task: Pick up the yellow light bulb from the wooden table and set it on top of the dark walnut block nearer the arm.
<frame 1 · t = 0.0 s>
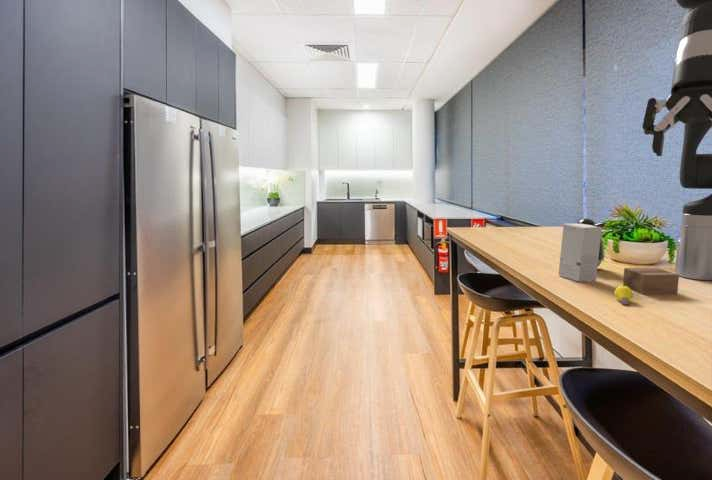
hand: (689, 153, 74), 31 cm above the table, tool tilted 20°, fingers open, 8 cm apart
walnut block: (649, 291, 107), on the table
skincare box: (577, 279, 120), on the table
light bulb: (623, 303, 97), on the table
pump dispenser: (583, 269, 133), on the table
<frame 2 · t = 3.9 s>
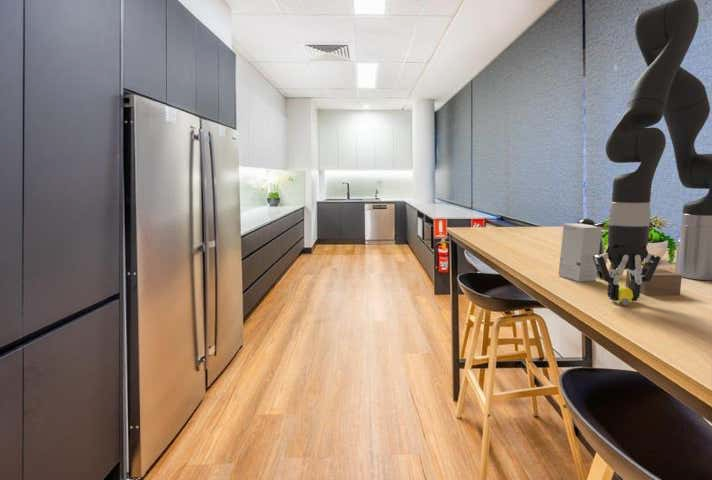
hand: (622, 299, 97), 0 cm above the table, tool pointing down, fingers closed on light bulb, 3 cm apart
light bulb: (624, 304, 96), on the table, touching gripper
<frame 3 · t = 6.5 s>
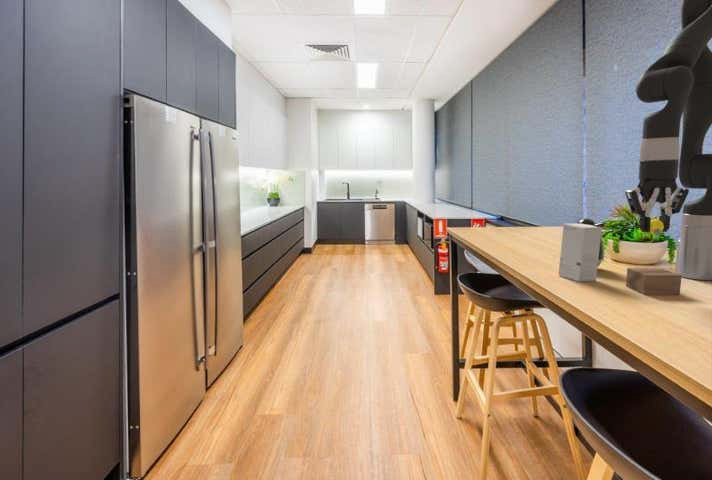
hand: (653, 231, 104), 15 cm above the table, tool pointing down, fingers closed on light bulb, 3 cm apart
light bulb: (655, 235, 103), point 14 cm above the table, touching gripper
everything else where it was.
when the fingers open (7 cm above the table, at t = 9.0 s): light bulb drops 1 cm, resting on walnut block.
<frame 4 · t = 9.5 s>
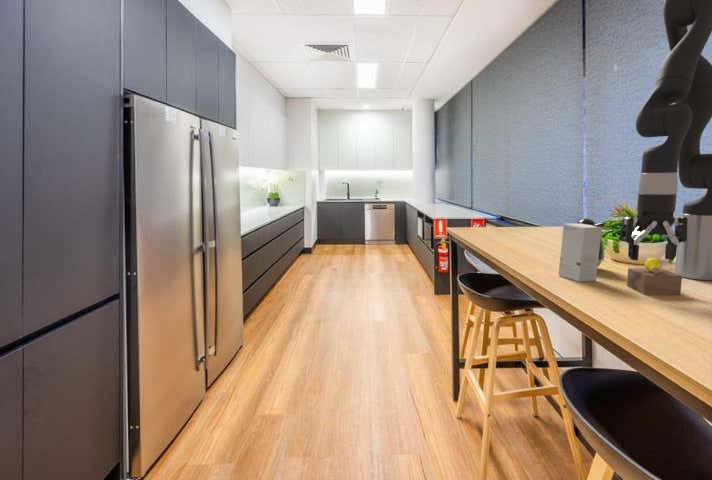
hand: (651, 259, 106), 8 cm above the table, tool pointing down, fingers open, 8 cm apart
walnut block: (652, 291, 107), on the table, touching light bulb
light bulb: (653, 273, 105), point 4 cm above the table, touching walnut block
everything else where it was.
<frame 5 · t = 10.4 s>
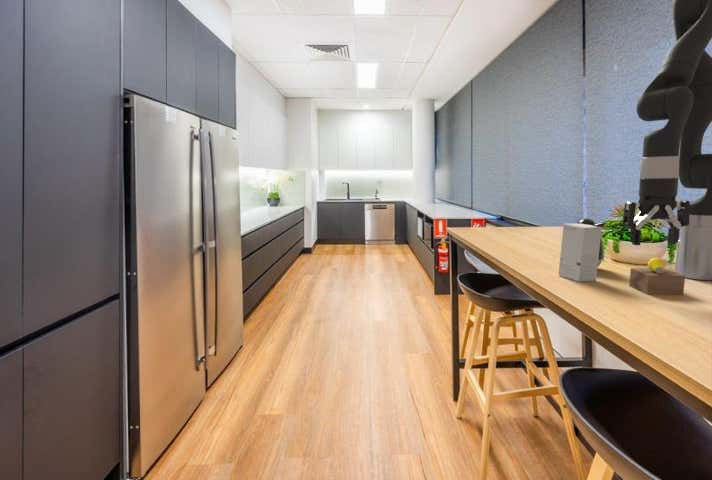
hand: (653, 244, 105), 11 cm above the table, tool pointing down, fingers open, 8 cm apart
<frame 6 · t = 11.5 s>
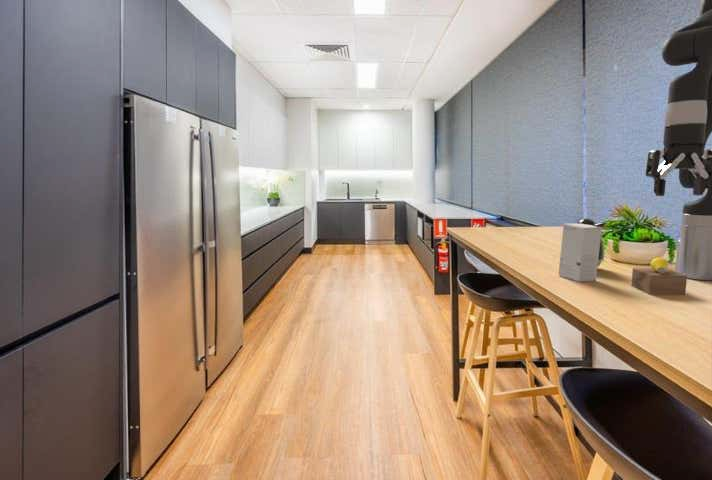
hand: (678, 195, 101), 23 cm above the table, tool pointing down, fingers open, 8 cm apart
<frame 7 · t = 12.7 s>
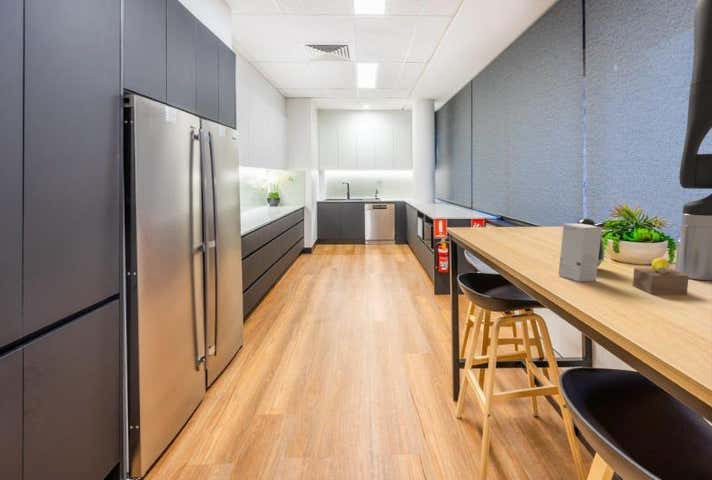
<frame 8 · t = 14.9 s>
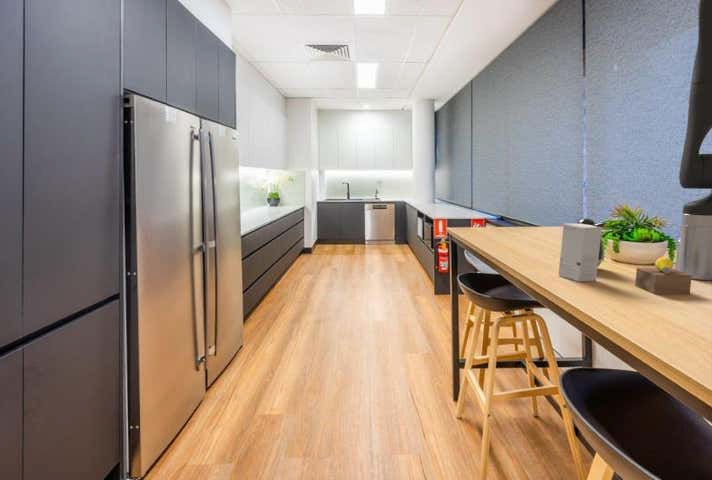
at the end: light bulb point 4.4 cm above the table; light bulb 1.0 cm from the walnut block (horizontally); light bulb touching walnut block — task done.
